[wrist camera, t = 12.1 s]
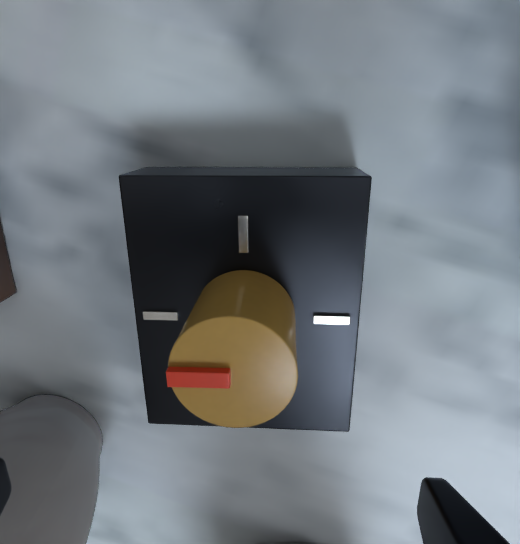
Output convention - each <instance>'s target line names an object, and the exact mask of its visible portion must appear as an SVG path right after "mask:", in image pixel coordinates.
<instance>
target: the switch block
mask: <svg viewBox="0 0 520 544" xmlns="http://www.w3.org/2000/svg"><path fill="white" fill-rule="evenodd" d="M15 293H16V289H15V284H14V280H13V275H12V271H11V266H10V262H9V258H8V253H7V249H6V244H5V240H4V236H3V231H2V227H1V222H0V302H2V301H4V300H5V299H7V298H8V297H10V296H12V295H13V294H15Z"/></svg>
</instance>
